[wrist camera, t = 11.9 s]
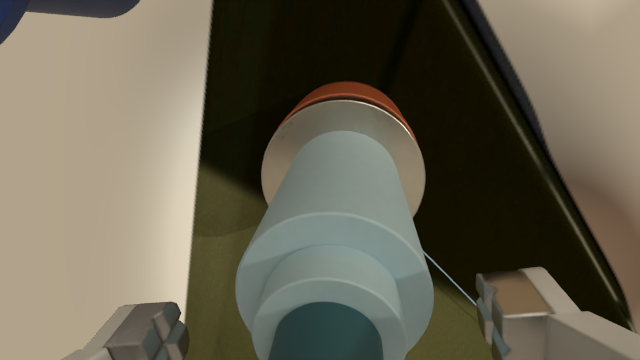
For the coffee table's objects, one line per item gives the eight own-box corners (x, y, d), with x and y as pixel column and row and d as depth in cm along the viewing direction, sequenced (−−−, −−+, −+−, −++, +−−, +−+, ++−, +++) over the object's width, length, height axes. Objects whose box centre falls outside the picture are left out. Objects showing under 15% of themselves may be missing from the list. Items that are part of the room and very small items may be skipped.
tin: (278, 89, 26) (241, 112, 18) (399, 69, 25) (420, 84, 16) (300, 197, 29) (278, 261, 21) (409, 184, 28) (432, 246, 19)
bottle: (278, 138, 18) (136, 320, 6) (392, 122, 17) (469, 294, 6) (299, 237, 20) (220, 514, 8) (403, 226, 19) (477, 517, 7)
